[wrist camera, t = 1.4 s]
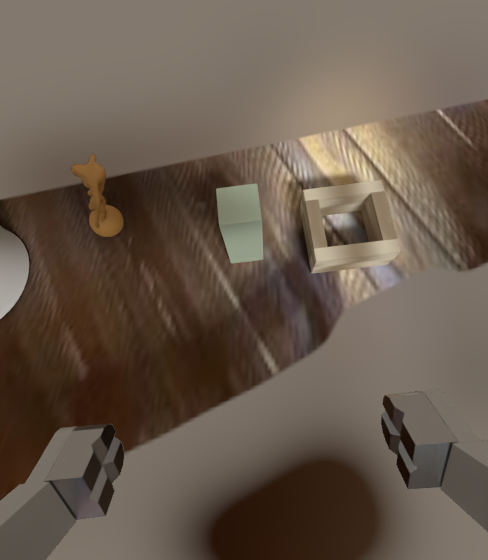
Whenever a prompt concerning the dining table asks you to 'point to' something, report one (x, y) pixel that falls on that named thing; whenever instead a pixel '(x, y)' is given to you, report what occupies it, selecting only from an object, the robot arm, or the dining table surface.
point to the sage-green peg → (241, 222)
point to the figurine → (98, 199)
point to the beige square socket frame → (345, 200)
